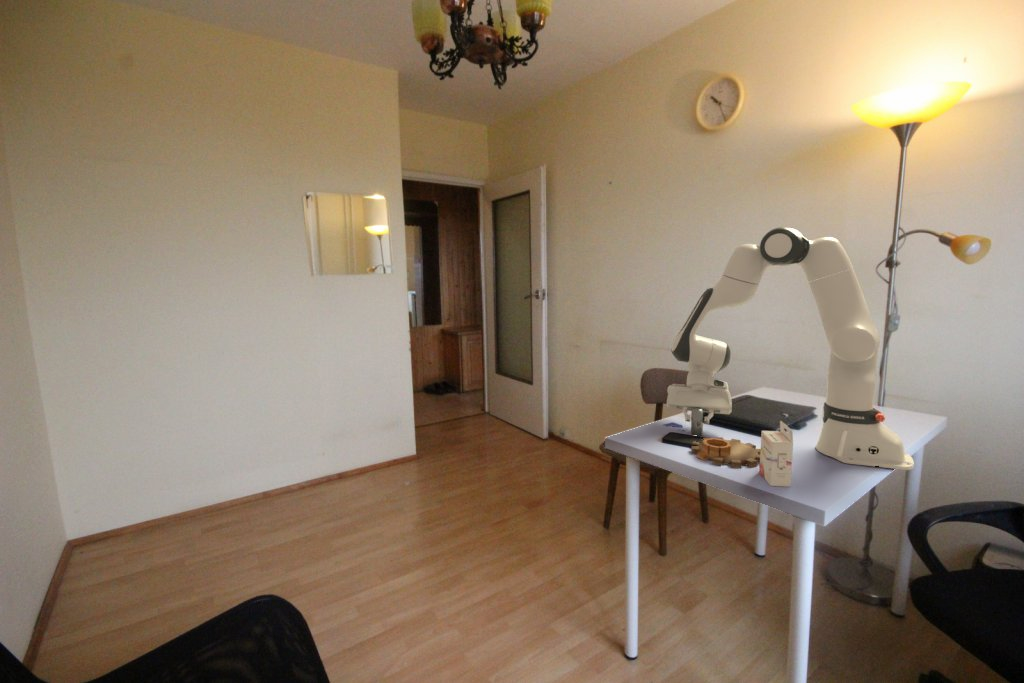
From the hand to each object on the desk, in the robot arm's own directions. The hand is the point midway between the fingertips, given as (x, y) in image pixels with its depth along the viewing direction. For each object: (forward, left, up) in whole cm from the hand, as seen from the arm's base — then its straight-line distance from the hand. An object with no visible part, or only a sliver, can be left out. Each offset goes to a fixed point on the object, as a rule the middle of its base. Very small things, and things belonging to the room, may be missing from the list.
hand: (697, 421), depth 151 cm
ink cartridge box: (-24, +23, -5) cm, 34 cm away
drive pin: (0, -1, -5) cm, 5 cm away
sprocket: (-11, +11, -5) cm, 16 cm away
